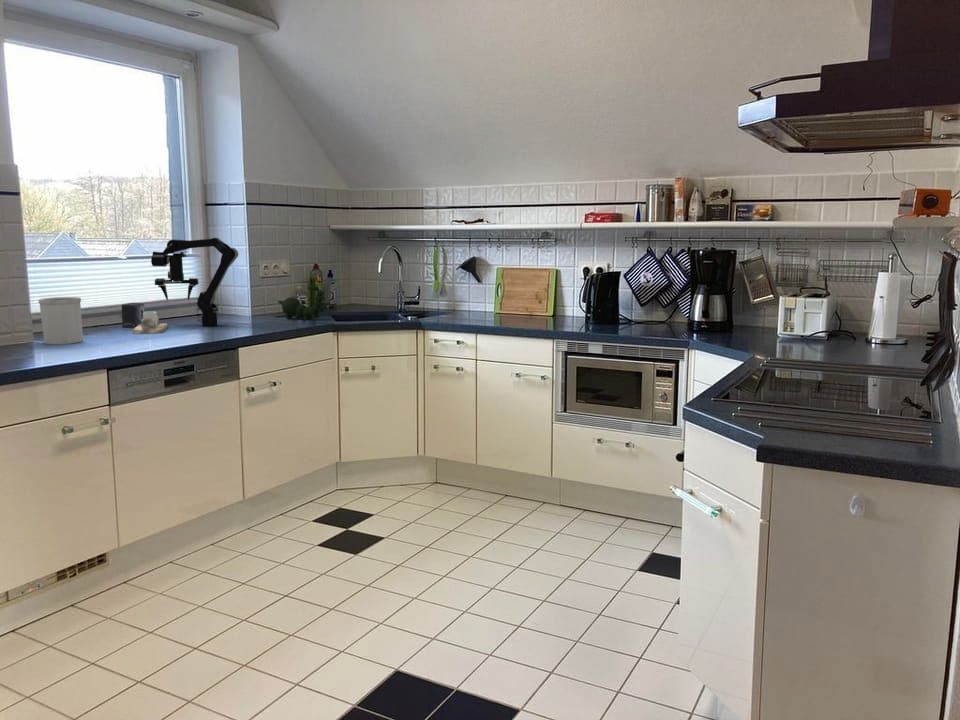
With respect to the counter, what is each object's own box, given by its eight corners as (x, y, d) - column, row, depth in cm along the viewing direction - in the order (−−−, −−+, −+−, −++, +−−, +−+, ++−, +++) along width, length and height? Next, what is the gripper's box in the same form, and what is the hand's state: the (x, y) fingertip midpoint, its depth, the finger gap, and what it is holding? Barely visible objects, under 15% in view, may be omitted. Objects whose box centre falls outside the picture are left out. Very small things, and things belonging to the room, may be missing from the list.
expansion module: (157, 324, 348) (156, 311, 347) (155, 326, 342) (154, 312, 341) (145, 324, 347) (144, 311, 346) (143, 326, 341) (142, 312, 340)
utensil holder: (55, 345, 297) (51, 300, 295) (34, 342, 305) (30, 298, 302) (91, 341, 310) (88, 298, 307) (70, 338, 318) (67, 296, 315)
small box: (135, 327, 353) (134, 304, 351) (121, 327, 353) (120, 304, 352) (146, 324, 364) (144, 302, 362) (132, 324, 364) (131, 302, 362)
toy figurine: (325, 322, 394) (281, 316, 399) (328, 285, 390) (283, 279, 396) (317, 324, 385) (272, 318, 390) (319, 287, 381) (274, 281, 387)
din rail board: (167, 326, 357) (166, 314, 356) (162, 332, 336) (161, 320, 335) (139, 327, 354) (138, 315, 353) (132, 333, 333) (131, 320, 332)
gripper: (198, 265, 367) (200, 298, 370) (156, 265, 362) (158, 298, 364) (197, 266, 356) (198, 300, 359) (153, 267, 351) (155, 301, 354)
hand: (177, 300), depth 359 cm, fingers open, 9 cm apart
